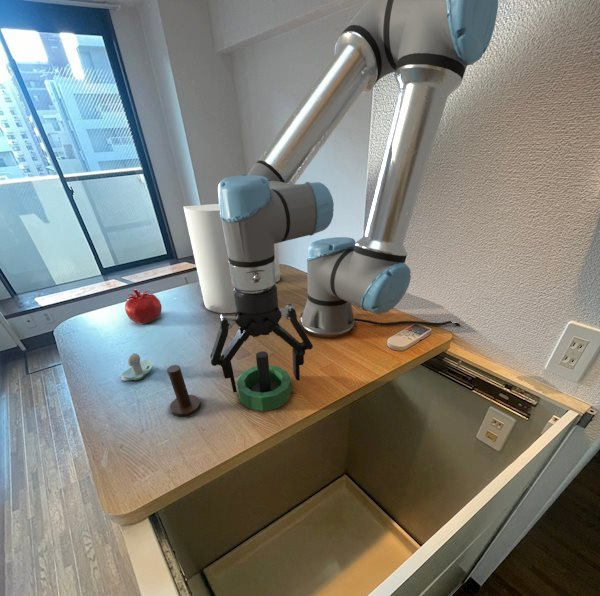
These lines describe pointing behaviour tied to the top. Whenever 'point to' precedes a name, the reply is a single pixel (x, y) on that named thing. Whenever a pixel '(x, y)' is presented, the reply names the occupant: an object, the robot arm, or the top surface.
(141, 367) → the pacifier
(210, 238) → the cylinder
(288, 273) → the top surface
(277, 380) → the ring
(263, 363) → the charcoal peg
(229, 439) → the top surface
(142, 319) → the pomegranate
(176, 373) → the walnut peg
